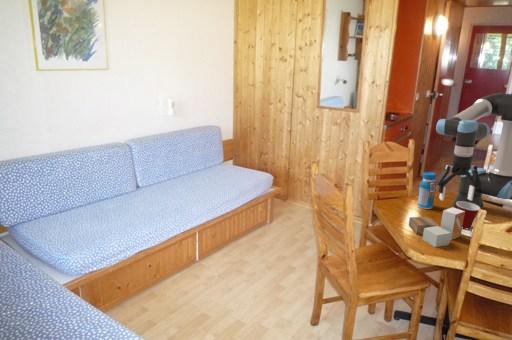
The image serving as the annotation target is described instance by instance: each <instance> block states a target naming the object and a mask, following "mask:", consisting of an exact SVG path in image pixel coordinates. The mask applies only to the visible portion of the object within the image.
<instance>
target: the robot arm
mask: <svg viewBox="0 0 512 340" xmlns="http://www.w3.org/2000/svg"><path fill="white" fill-rule="evenodd" d="M489 116H498V117H500V121H501V123H502V127H501V132H500V137H499V142H498V146H497V150H496V155H495V160H494V165H493V168H491V169H490V170H489V171H488V172H487V169H485V168H482V167H478V166H477V165H475V164H472V161H473V156H474V155H473V154H474V149H475V144H476V141H479V140H480V141H481V140H484V139H486V138H487V137H489V136H490V134H491V128H490V126H489V125H488V123H485V122H478V120H479V119H481V118H485V117H489ZM435 130H436V133H438V134H439V135H443V136H447V137H449V136H451V137H455V138H456V139H455V145H454V149H453V156H452V164H451V165H449V164H445V166H444V169H443V170H442V172H441V173H440V175H439V176H438V178H436V179H437V180H435V183H436V186H437V185H438V193H439V195H438V196H439V197H438V198H439V200H440V201H441V202H442V201H444V200H445V194H446V190H447V189H446V185H447V184H448V183H449V182H450V181H451V180H452V179H453V178H454V177H456V176H460V180H459V188H458V193H457V194H456V197H455V199H454V200H453V203H452V207H453V208H456V209H457V204H456V202H459V201H465V202H470V203H473V204H475V205H478V206H479V207H480V209H483V210H484V203H483V201H484V200H483V197H482V196H483V195H484V196H489V197H494V198H497V199H501V200H508V199H510V198H511V197H512V93H503V92H499V93H498V92H497V93H492V94H489V95H486V96H485V95H484V96H483V97H481V98H478V99H477V100H476V101H475V102H474V103H473V104H472V105H471V106H468V107H467V108H465V110H461V112H459V113H457V114H456V115H454V116H452V117H451V118H449V119H448V118H440V119H439V120H438V121H437V123H436V125H435Z"/></svg>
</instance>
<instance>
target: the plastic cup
mask: <svg viewBox="0 0 512 340" xmlns="http://www.w3.org/2000/svg"><path fill="white" fill-rule="evenodd" d="M456 204H457V208H456V209H459V210H462V211H465V214H464V220H463V225H462V227H463V228H470V227H471V228H472V225H473V223H474V221H475V219H476V216H477V214H478V213H479V212H478V210H479V209H480V207H479V206H478V205H475V204H473V203H470V202H465V201H459V202H456ZM471 228H470V229H471Z"/></svg>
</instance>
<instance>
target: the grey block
mask: <svg viewBox="0 0 512 340" xmlns="http://www.w3.org/2000/svg"><path fill="white" fill-rule="evenodd" d="M450 237H451V233H450V232H449V231H447V230H445V229H443V228H441V226H434V227H428V228H424V232H423V234H422V241H424V242H426V243H427V244H429V245H431V246H432V247H434V248H438V247H444V246H449V245H450V242H451V240H450Z"/></svg>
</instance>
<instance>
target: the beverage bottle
mask: <svg viewBox="0 0 512 340" xmlns="http://www.w3.org/2000/svg"><path fill="white" fill-rule="evenodd" d="M436 177H437V174H436V172H432V171H424V172H422V180H421V181H420V183H419V185H420V186H419V188H418V190H419V191H418V199H417V205H416V206H417V207H419V208H420V209H424V210H431V209H433V208H434V200H435V193H436V187H437V184H436V179H437V178H436Z"/></svg>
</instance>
